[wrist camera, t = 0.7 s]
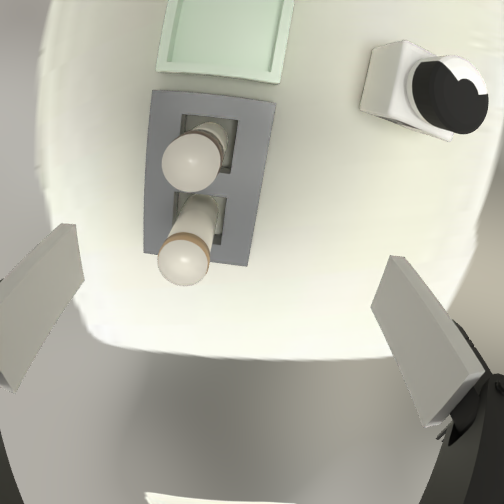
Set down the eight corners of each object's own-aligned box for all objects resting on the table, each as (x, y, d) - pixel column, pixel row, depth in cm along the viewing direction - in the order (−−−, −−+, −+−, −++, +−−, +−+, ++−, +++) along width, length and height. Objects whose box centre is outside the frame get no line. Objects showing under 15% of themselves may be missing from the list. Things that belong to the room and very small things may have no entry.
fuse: (184, 190, 33) (156, 237, 23) (221, 195, 34) (210, 244, 23) (181, 225, 35) (156, 283, 25) (217, 229, 36) (206, 290, 25)
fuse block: (159, 90, 28) (152, 90, 26) (273, 102, 29) (276, 103, 27) (149, 243, 36) (143, 252, 34) (246, 255, 37) (247, 266, 35)
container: (415, 131, 30) (486, 156, 19) (357, 109, 29) (418, 122, 18) (429, 73, 27) (504, 75, 15) (371, 47, 26) (436, 30, 14)
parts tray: (184, -39, 20) (180, -48, 18) (297, -28, 22) (301, -36, 19) (161, 72, 27) (155, 70, 25) (277, 84, 28) (279, 83, 26)
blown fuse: (191, 119, 30) (163, 132, 19) (231, 123, 30) (224, 138, 19) (187, 157, 32) (158, 190, 21) (226, 162, 32) (216, 196, 21)
